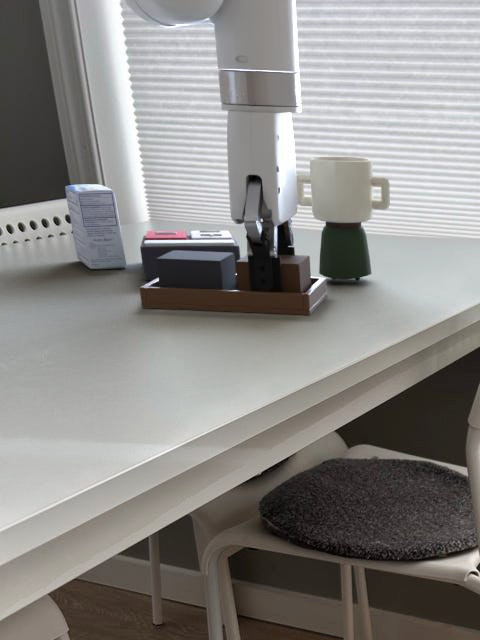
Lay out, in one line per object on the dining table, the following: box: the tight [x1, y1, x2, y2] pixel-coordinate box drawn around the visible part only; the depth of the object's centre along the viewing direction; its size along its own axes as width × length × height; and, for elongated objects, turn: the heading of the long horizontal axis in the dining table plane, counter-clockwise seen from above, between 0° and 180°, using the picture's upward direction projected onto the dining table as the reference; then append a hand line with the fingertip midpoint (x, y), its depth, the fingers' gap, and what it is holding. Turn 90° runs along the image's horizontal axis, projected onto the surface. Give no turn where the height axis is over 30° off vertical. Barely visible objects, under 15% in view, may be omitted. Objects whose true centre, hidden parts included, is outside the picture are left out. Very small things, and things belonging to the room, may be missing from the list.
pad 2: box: [236, 254, 312, 293], centre depth 99 cm, size 6×6×4 cm
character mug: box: [297, 156, 391, 282], centre depth 110 cm, size 11×7×13 cm, turn 85°
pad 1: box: [156, 250, 237, 290], centre depth 99 cm, size 6×6×4 cm
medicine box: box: [64, 183, 127, 270], centre depth 115 cm, size 8×4×9 cm, turn 30°
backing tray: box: [138, 274, 328, 316], centre depth 100 cm, size 17×10×2 cm, turn 88°
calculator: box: [139, 229, 242, 281], centre depth 115 cm, size 11×4×15 cm
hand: (274, 290), depth 100 cm, fingers open, 5 cm apart
